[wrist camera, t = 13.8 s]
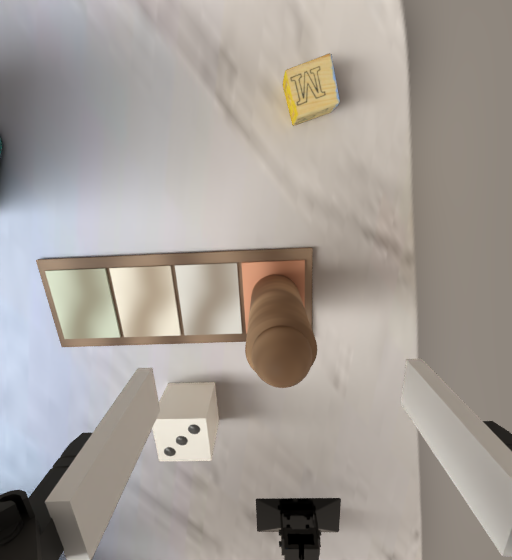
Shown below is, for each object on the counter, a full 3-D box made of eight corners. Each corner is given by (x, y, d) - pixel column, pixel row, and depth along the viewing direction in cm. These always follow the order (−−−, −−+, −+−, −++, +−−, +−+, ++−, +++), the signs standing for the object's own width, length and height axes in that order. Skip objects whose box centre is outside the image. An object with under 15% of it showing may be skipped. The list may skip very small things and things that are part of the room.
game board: (64, 345, 29) (60, 348, 28) (39, 259, 26) (34, 260, 25) (310, 337, 28) (311, 340, 27) (311, 247, 25) (312, 248, 24)
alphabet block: (331, 114, 22) (341, 102, 19) (292, 127, 22) (296, 118, 19) (322, 69, 21) (331, 50, 18) (281, 84, 21) (284, 67, 18)
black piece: (350, 489, 35) (364, 535, 30) (346, 532, 37) (358, 581, 32) (244, 489, 35) (241, 534, 30) (247, 531, 37) (244, 579, 33)
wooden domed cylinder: (252, 319, 27) (244, 408, 16) (250, 275, 25) (240, 338, 14) (299, 318, 26) (323, 407, 16) (299, 273, 25) (326, 336, 14)
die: (174, 420, 31) (159, 461, 27) (168, 382, 30) (150, 419, 25) (219, 419, 31) (211, 460, 26) (215, 381, 30) (205, 418, 25)
